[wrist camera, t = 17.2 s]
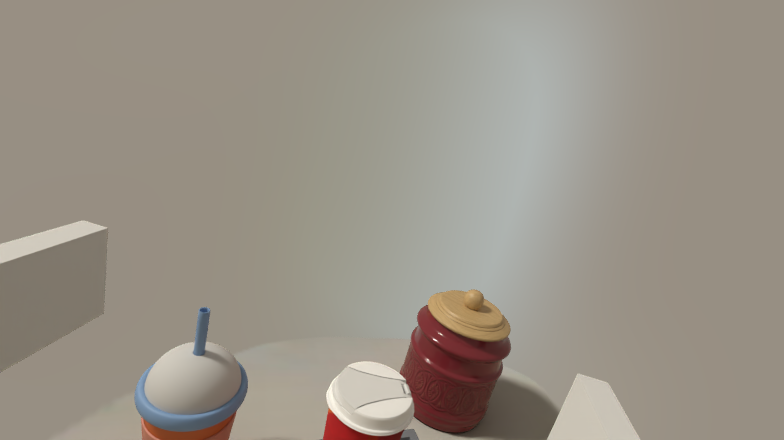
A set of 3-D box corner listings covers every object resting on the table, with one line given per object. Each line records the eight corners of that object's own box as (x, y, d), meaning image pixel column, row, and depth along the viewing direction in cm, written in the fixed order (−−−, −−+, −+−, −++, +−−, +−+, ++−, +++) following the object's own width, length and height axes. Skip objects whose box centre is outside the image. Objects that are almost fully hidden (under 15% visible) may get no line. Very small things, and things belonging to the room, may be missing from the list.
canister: (500, 414, 58) (544, 308, 53) (442, 451, 49) (488, 328, 44) (436, 359, 66) (468, 264, 61) (377, 382, 58) (409, 273, 53)
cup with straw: (177, 419, 44) (194, 273, 39) (251, 450, 43) (279, 304, 37) (102, 492, 35) (111, 317, 30) (192, 534, 34) (218, 359, 29)
